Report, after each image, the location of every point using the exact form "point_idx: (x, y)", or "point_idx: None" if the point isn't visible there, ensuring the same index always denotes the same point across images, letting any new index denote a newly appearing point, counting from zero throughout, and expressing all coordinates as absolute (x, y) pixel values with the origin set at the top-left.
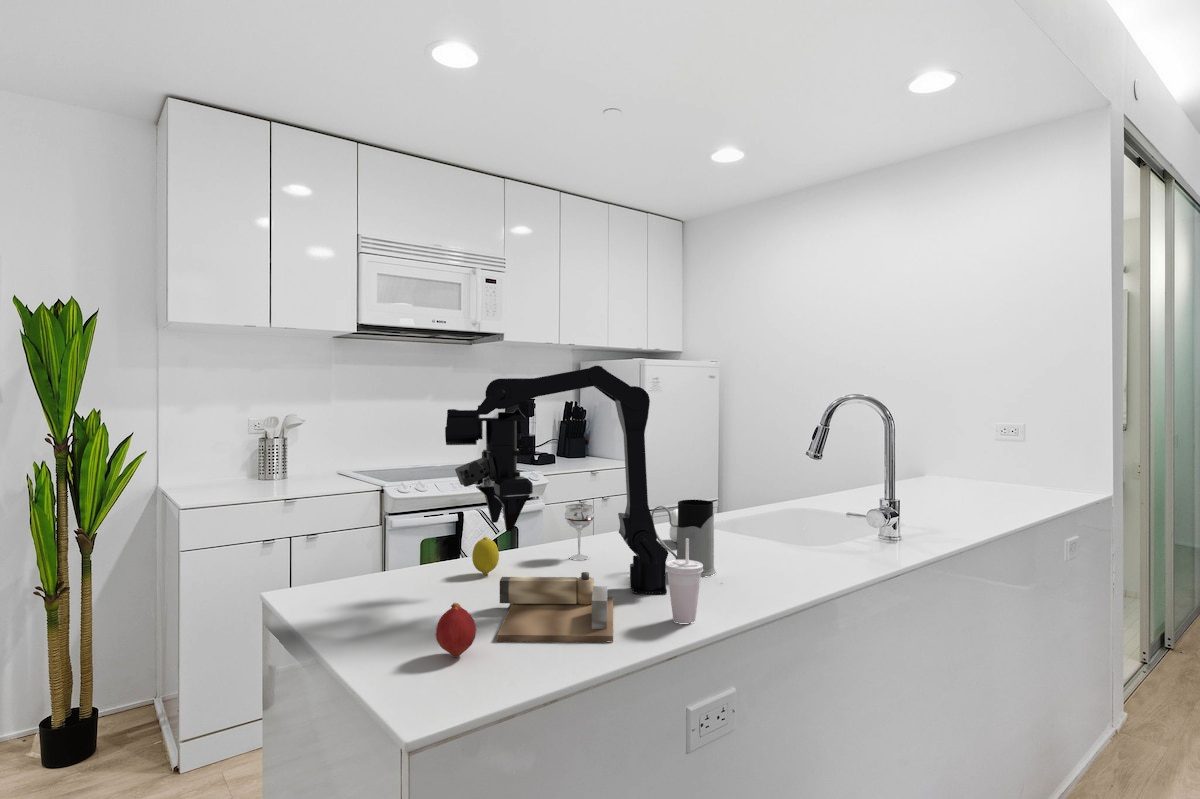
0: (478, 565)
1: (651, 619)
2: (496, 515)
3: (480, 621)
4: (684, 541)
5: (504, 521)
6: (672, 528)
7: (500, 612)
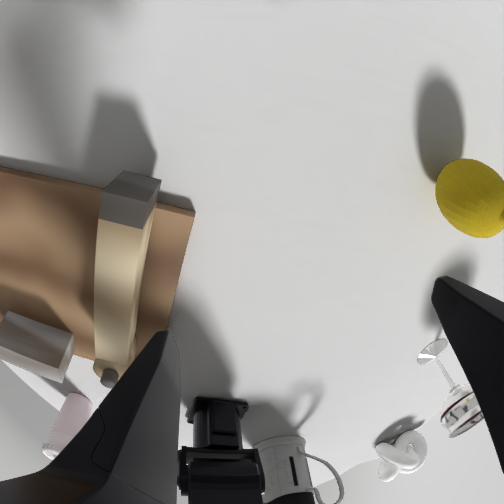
0: (449, 166)
1: (80, 380)
2: (450, 320)
3: (66, 119)
4: (275, 480)
5: (151, 367)
6: (417, 441)
7: (117, 167)
